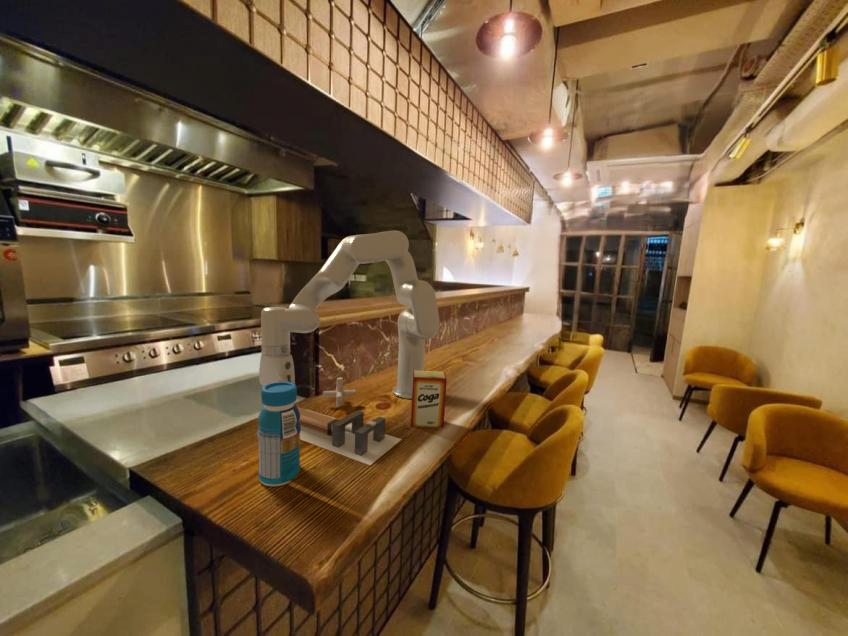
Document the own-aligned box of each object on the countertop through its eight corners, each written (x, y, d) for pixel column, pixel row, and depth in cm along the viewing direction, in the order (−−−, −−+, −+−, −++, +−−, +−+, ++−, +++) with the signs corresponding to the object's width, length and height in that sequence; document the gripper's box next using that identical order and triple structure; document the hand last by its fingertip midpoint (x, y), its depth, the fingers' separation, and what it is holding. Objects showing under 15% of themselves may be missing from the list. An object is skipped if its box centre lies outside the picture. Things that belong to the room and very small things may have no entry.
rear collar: (357, 429, 92) (357, 410, 91) (363, 431, 91) (363, 411, 91) (332, 445, 83) (332, 424, 83) (338, 447, 82) (338, 426, 82)
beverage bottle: (253, 490, 67) (251, 394, 64) (263, 466, 75) (261, 380, 72) (298, 486, 69) (298, 393, 66) (302, 463, 77) (303, 379, 74)
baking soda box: (410, 429, 96) (413, 375, 94) (410, 419, 103) (413, 369, 100) (443, 430, 96) (446, 377, 94) (441, 420, 103) (444, 370, 101)
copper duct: (286, 420, 95) (286, 409, 95) (295, 416, 98) (295, 405, 98) (335, 437, 87) (335, 425, 87) (343, 432, 90) (343, 421, 90)
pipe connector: (322, 415, 102) (323, 384, 100) (323, 402, 111) (323, 373, 110) (356, 413, 104) (356, 382, 103) (353, 401, 114) (354, 373, 113)
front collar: (378, 436, 89) (379, 414, 88) (384, 438, 88) (385, 416, 87) (354, 453, 80) (355, 429, 79) (361, 455, 79) (362, 431, 79)
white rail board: (306, 412, 103) (306, 407, 103) (401, 442, 88) (401, 436, 88) (267, 430, 91) (267, 424, 91) (370, 469, 76) (370, 462, 76)
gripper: (304, 351, 96) (304, 411, 99) (269, 343, 103) (269, 400, 106) (283, 356, 90) (283, 421, 92) (246, 348, 96) (248, 408, 99)
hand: (276, 410), depth 99 cm, fingers closed
